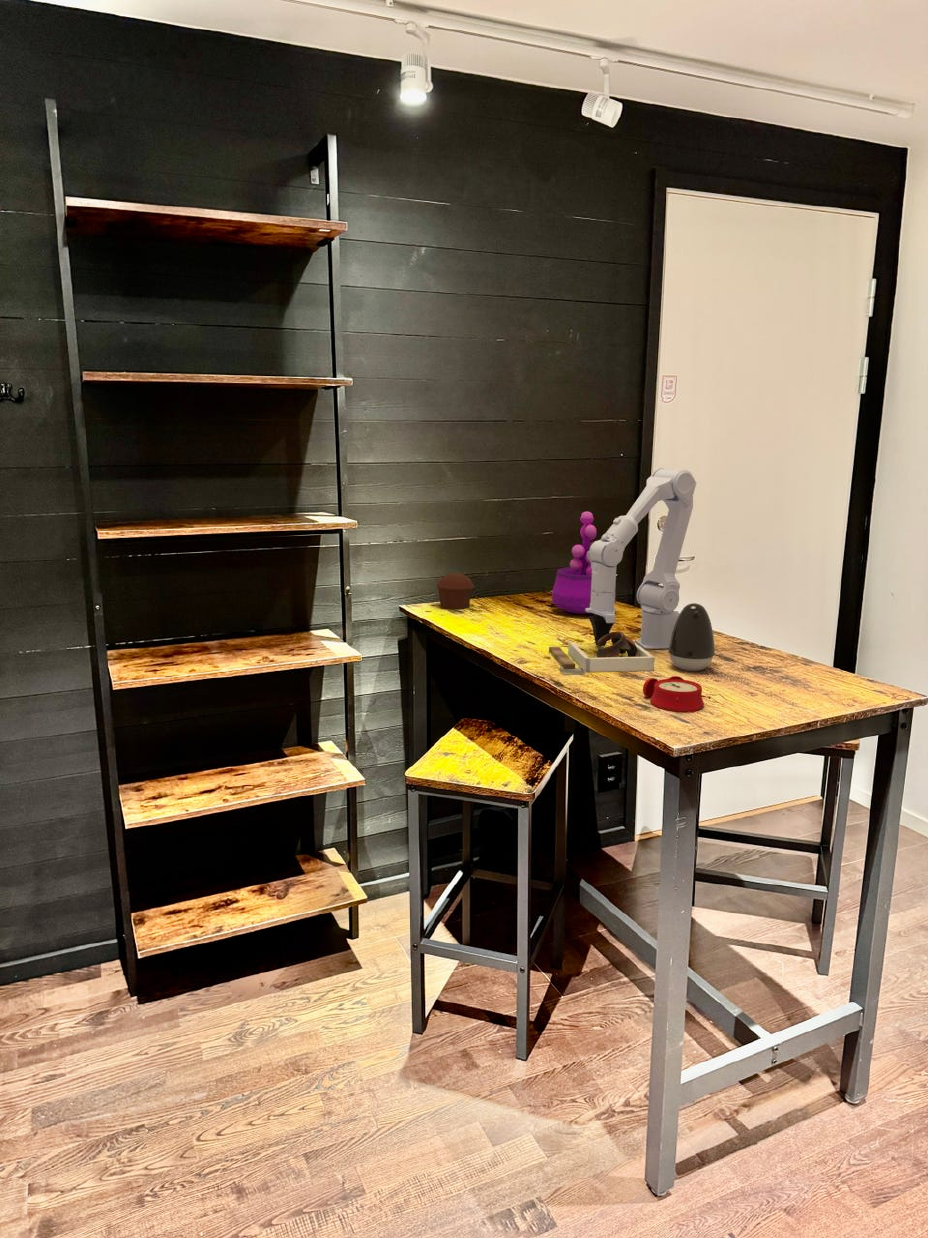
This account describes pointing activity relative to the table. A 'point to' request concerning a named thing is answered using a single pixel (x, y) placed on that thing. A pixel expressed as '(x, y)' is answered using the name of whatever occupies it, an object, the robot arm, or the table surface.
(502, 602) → the table surface
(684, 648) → the black egg shaped dome
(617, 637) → the brown hollow round piece
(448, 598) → the muffin
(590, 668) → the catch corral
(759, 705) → the table surface
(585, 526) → the decorative plant
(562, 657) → the walnut scraper
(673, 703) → the alarm clock
